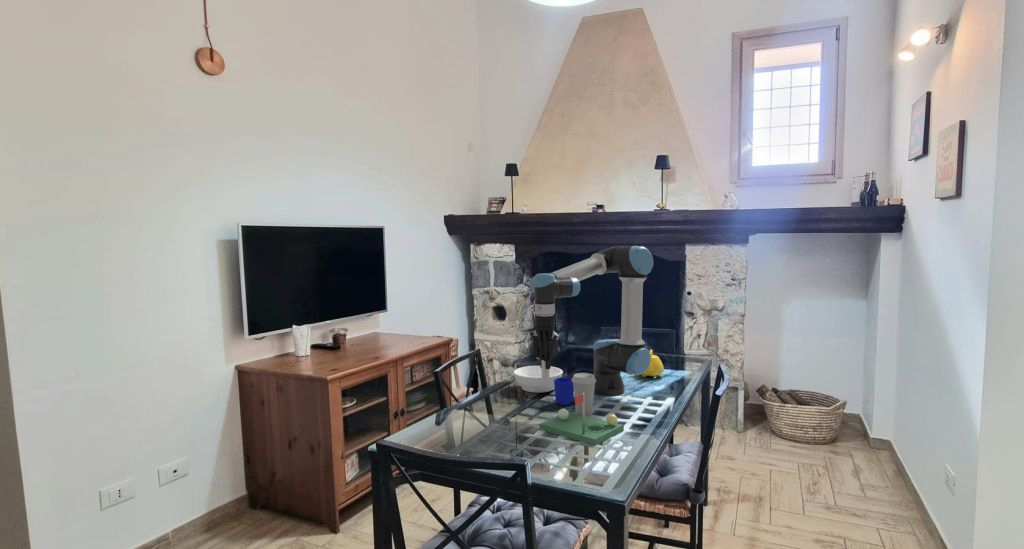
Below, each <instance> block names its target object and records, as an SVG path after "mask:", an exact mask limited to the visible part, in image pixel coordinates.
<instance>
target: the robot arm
mask: <svg viewBox="0 0 1024 549" xmlns="http://www.w3.org/2000/svg"><path fill="white" fill-rule="evenodd" d="M653 257H654V256H653V255H652V253H651V252H650V250H649V249H648V248H646V247H645V246H639V245H615V246H611V247H608V248H605V249H603V250H600V251H598V252H595V253H593V254H592V255H591V256H590V257H589V258H587V259H584V260H583V259H582V260H581V261H579V262H576V263H573V264H571V265H568V266H566V267H563V268H560V269H558V270H555V271H553V272H549V273H546V272H545V273H544V272H543V273H536V274H535V275H534V276H533V277H532V278H531V279H530V281H529V289H530V291H531V292H532V293H533V294H534V314H535V315H534V325H535V329H534V331H531V332H530V333H529V334H530V337H531V339H532V344H533V348H534V354H535V358H538V359H539V366H540V368H542V378H547V377H549V369H550V368H551V367H552V366H551V362H552V360H554V359H555V358H556V355H557V350H558V344H559V340H560V339H561V335H560V334H558V333H557V332H556V330H555V329H556V328H555V325H556V316H555V314H556V299H560V298H571V297H576V296H578V295H579V294H580V292H581V283H580V281H583V280H586V279H589V278H591V277H593V276H595V275H599V276H600V275H604V274H608V273H611V274H612V273H615V274H616V273H617V274H618V279H619V280H620V281H621V284H622V285H621V286H622V287H621V319H620V320H621V326H620V328H621V329H620V338H611V339H610V338H608V339H607V338H606V339H599V340H597V341H595V342H594V344H593V375H594V377H595V379H596V382H595V388H594V395H595V394H596V395H599V396H600V395H601V396H618V395H622V394H624V393H625V389H626V388H625V384H624V381H623V378H622V375H621V373H625V374H628V375H631V376H632V375H634V376H640V375H641V374H643V373H644V372H645V371H646V369H648V367H649V364H650V361H651V355H650V350H648V349H647V348H646V342H645V340H643V339H642V338H643V337H642V335H643V329H642V328H643V300H644V298H643V293H644V292H643V289H644V282H645V281H646V280H647V278H648V274H650V273H651V272H652V269H654V268H653V267H654V258H653ZM641 376H642V375H641Z"/></svg>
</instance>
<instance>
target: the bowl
mask: <svg viewBox="0 0 1024 549" xmlns="http://www.w3.org/2000/svg"><path fill="white" fill-rule="evenodd" d="M563 373H564V371H563V370H562V369H561V368H559V367H555V366H551V368H550V369H549V377H547V378H542V368H540V365H528V366H521V367H519V368H516V369H514V370H513V376H514V379H515V381H516V383H518V384H520V388H521V387H522V388H521V389H522V390H523V391H526V392H527V393H529V392H530V393H548V392H551V391H555V387H554V379H556V378H562V376H563Z"/></svg>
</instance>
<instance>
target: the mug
mask: <svg viewBox="0 0 1024 549" xmlns="http://www.w3.org/2000/svg"><path fill="white" fill-rule="evenodd" d="M554 387H555V389H554V395H555V403H556V404H557V405H560V406H569V405H571V404H573V400H574V401H575V398H574V388H573V382H572V378H571V377H564V376H563V377H562V376H561V378H556V379H554Z"/></svg>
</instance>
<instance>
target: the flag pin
mask: <svg viewBox="0 0 1024 549" xmlns="http://www.w3.org/2000/svg"><path fill="white" fill-rule="evenodd" d="M580 403H582V434H585V401H584V393H582V394H581V395H578V396H576V397H575V400H574V406H575V405H577V404H580Z"/></svg>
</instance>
